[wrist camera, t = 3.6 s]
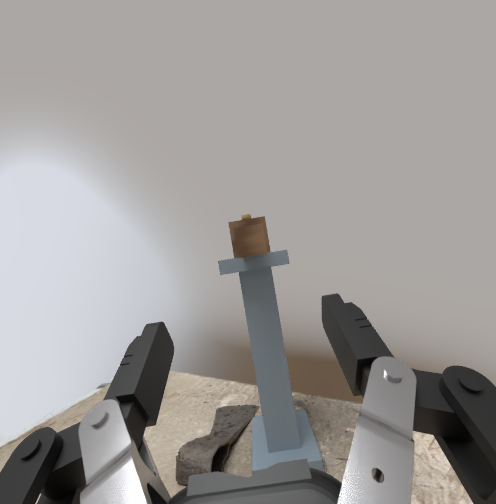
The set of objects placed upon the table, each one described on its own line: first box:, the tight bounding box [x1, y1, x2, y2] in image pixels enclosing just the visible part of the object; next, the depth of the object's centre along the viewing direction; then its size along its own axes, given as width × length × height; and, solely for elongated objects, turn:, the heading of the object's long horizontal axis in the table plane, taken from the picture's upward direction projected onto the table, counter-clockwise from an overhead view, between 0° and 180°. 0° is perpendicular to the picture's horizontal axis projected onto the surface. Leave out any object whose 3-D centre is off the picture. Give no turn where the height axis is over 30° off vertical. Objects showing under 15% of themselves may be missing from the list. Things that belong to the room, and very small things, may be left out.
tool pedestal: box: [218, 250, 324, 475], centre depth 39 cm, size 10×11×32 cm
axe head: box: [176, 405, 259, 485], centre depth 43 cm, size 20×5×10 cm
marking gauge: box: [229, 214, 270, 258], centre depth 34 cm, size 6×21×7 cm, turn 179°
